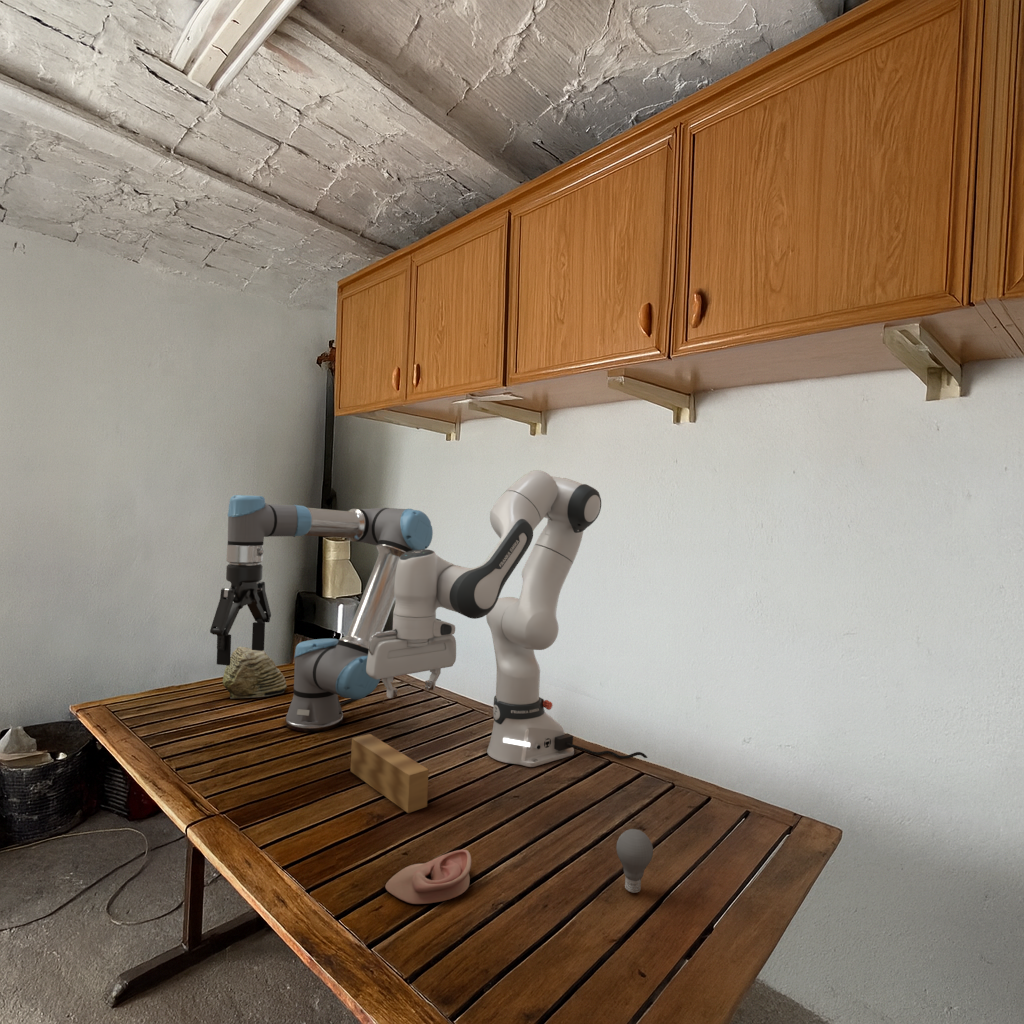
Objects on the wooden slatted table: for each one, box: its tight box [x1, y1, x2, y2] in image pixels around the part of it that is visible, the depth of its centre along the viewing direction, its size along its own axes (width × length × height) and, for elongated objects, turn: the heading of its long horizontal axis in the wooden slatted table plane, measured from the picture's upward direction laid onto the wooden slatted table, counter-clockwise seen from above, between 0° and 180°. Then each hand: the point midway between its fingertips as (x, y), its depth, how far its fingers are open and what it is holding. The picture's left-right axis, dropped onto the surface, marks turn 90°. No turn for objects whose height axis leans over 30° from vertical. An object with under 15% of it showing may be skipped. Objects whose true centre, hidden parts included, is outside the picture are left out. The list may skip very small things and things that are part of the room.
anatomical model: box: [385, 849, 472, 905], centre depth 105 cm, size 13×4×12 cm
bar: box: [350, 733, 430, 814], centre depth 139 cm, size 24×5×8 cm, turn 42°
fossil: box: [222, 646, 288, 699], centre depth 198 cm, size 9×18×15 cm, turn 132°
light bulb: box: [615, 828, 654, 894], centre depth 106 cm, size 6×6×10 cm
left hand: (241, 657), depth 143 cm, fingers open, 13 cm apart
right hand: (411, 693), depth 132 cm, fingers open, 8 cm apart
